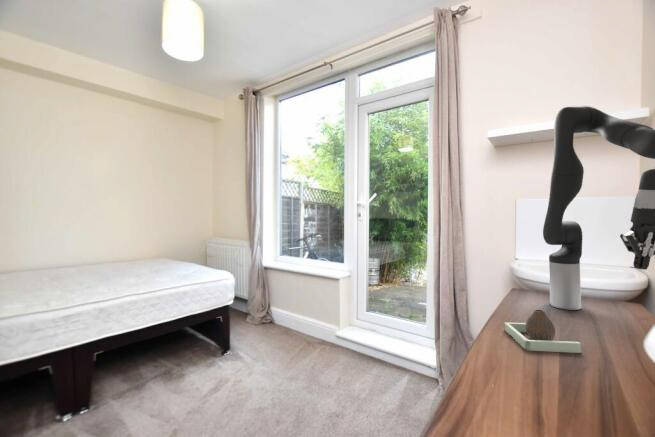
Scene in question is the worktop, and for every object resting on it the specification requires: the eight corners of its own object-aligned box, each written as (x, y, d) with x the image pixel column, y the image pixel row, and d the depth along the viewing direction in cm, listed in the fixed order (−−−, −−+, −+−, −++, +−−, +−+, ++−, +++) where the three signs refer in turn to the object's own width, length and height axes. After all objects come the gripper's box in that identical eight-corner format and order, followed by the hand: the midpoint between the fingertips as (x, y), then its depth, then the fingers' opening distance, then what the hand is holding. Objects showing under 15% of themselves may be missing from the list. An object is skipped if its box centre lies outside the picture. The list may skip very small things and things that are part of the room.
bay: (504, 330, 92) (504, 322, 92) (550, 331, 89) (550, 323, 89) (526, 350, 78) (525, 341, 78) (581, 353, 76) (580, 343, 76)
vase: (551, 337, 85) (550, 308, 85) (559, 347, 79) (558, 315, 79) (523, 334, 88) (522, 306, 88) (529, 344, 82) (528, 313, 82)
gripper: (662, 208, 83) (649, 266, 85) (615, 204, 83) (603, 263, 85) (694, 210, 75) (679, 274, 78) (643, 206, 76) (629, 270, 78)
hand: (640, 268), depth 81 cm, fingers closed
